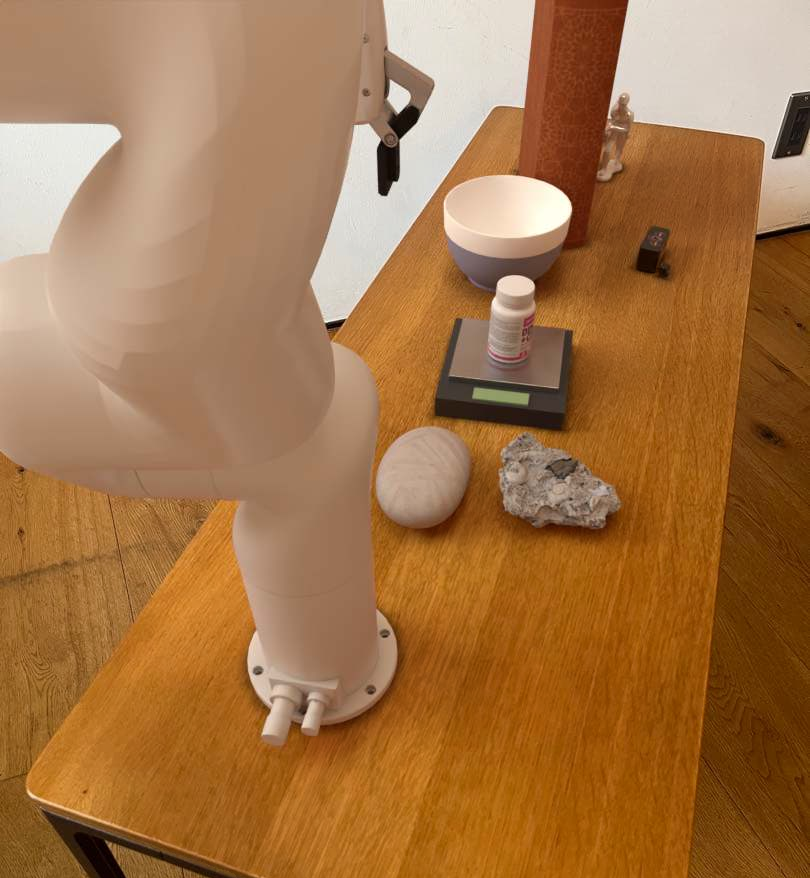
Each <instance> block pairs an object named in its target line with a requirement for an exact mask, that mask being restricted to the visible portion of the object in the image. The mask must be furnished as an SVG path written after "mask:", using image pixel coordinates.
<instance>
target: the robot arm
mask: <svg viewBox="0 0 810 878" xmlns="http://www.w3.org/2000/svg"><path fill="white" fill-rule="evenodd" d="M385 12H386V11H385V4H384V0H0V124H6V125H7V124H9V125H10V124H13V125H14V124H15V125H19V124H20V125H22V124H23V125H25V124H26V125H29V124H30V125H35V124H36V125H38V124H39V125H54V124H55V125H56V124H57V125H58V124H59V125H76V124H77V125H109V126H112V127H113V128H116V129H117V130H118V132H119V134H120V138H118V140H116V141H115V142H114V143H113V144H112V145H111V146H110V148H108V149H107V151H106V152H105V153H103V155H102V156H101V157H100V158H99V159H98V161H97V162H96V163H95V165H94V166H93V167H92V169H91V170H89V173H88V174H87V175H86V177H85V178H84V179H83V181H82V182H81V183H80V185H79V186H78V188H77V190H76V191H75V193H73V196H72V198H71V199H70V201H69V203H68V205H67V207H66V209H65V210H64V212H63V215H62V217H61V219H60V222H59V224H58V227H56V230H55V232H54V234H53V237H52V240H51V242H50V245H49V250H48V252H42V253H41V252H40V253H32V254H31V253H30V254H24V255H19V256H17V257H12V258H10V259H7V260H5V261H3V262H1V263H0V452H1V453H2V454H3V455H4V456H5V457H7V458H8V460H10V461H12V462H13V463H15V464H17V465H18V466H20V467H22V468H24V469H26V470H28V471H31V472H34V473H36V474H39V475H41V476H45V477H49V478H50V479H55V480H58V481H61V482H64V483H67V484H71V485H74V486H76V487H80V488H84V489H86V490H90V491H93V492H97V493H101V494H105V495H108V496H109V495H110V496H113V497H121V498H130V499H131V498H132V499H156V500H157V499H158V500H218V501H220V500H221V501H222V500H224V501H226V502H239V503H238V504H237V506H236V507H237V508H236V511H235V513H234V517H233V520H232V521H233V522H232V528H231V529H232V531H231V541H232V547H233V551H234V555H235V559H236V562H237V564H238V568H239V571H240V575H241V579H242V582H243V585H244V588H245V592H246V596H247V601H248V603H249V604H248V605H249V608H250V611H251V615H252V617H253V621H254V626H255V629H256V630H255V631H254V633H253V635H252V637H251V641H250V643H249V646H248V651H247V658H246V659H247V661H246V662H247V671H248V676H249V679H250V682H251V685H252V687H253V689H254V692H255V694H256V695H257V697H258V699H260V700H261V702H262V703H263V704H264V706H266V707H267V708H268V709H270V712H269V714H268V715H267V717H266V719H265V723H264V724H263V728H262V731H261V734H260V740H261V741H262V742H263V743H264V744H266V745H269V746H272V747H283V746H285V745H286V741H287V739H288V734H289V732H290V729H291V726H292V723H293V722H294V723H297V724H300V725H301V727H300V732H301V733H302V734H303V735H305V736H308V737H317V736H318V734H319V731H320V729H321V728H320V727H321V726H330V725H335V724H340V723H343V722H346V721H349V720H351V719H354V718H356V717H358V716H360V715H362V714H363V713H365V712H367V711H368V710H369V709H371V708H372V707H373V706H374V705H376V703H378V701H380V700H381V699H382V697H383V696H384V695H385V693H386V692H387V691H388V690H389V688H390V686H391V684H392V681H393V679H394V678H395V675H396V670H397V666H398V644H397V638H396V635H395V632H394V630H393V629H394V628H393V627H392V625H391V624H390V621H389V620H388V619H387V617H386V616H385V615H384V614H383V613H382V612H381V611H380V610H379V609H378V608H377V597H376V595H377V594H376V582H375V579H376V578H375V563H374V552H373V551H374V548H373V532H372V511H371V509H372V507H371V506H372V505H371V502H372V501H371V491H372V479H373V469H374V463H375V462H374V461H375V455H376V450H377V449H376V448H377V442H378V441H377V440H378V434H379V426H380V399H379V391H378V386H377V383H376V379H375V376H374V374H373V372H372V370H371V368H370V367H369V364H367V362H366V361H365V359H363V358H362V357H361V355H360V354H357V352H355V351H354V350H352V349H350V348H348V347H346V346H345V345H342V344H340V343H337V342H334V341H332V340H331V339H330V336H329V332H328V329H327V325H326V323H325V319H324V317H323V313H322V310H321V308H320V305H319V302H318V299H317V297H316V294H315V291H314V288H313V285H312V283H311V280H312V279H313V275H314V273H315V270H316V268H317V266H318V264H319V261H320V258H321V256H322V253H323V250H324V248H325V245H326V241H327V239H328V235H329V232H330V229H331V225H332V222H333V219H334V216H335V213H336V209H337V207H338V202H339V200H340V196H341V193H342V189H343V184H344V182H345V177H346V172H347V169H348V165H349V159H350V154H351V148H352V144H353V140H354V131H355V126H364V125H369V127H371V129H372V130H373V131H374V132H375V134H376V135H377V136H378V138H380V139H379V143H378V145H377V146H376V166H377V167H376V168H377V169H376V171H377V172H376V173H377V194H378V195H380V197H388V196H389V193H390V191H391V189H392V186H393V184H394V183H398V182H399V180H400V176H401V139H403V137H404V136H405V135H406V134H408V133H409V131H410V130H411V129H413V128H414V127H415V126H416V124H417V123H418V121H419V120H420V118H421V116H422V114H423V112H424V110H425V108H426V106H427V104H428V102H429V100H430V98H431V96H432V94H433V91H434V89H435V85H436V83H435V80H434V79H433V78H432V77H431V76H429V75H428V74H426V73H424V72H423V71H421V70H420V69H418V68H417V67H415V66H413V65H412V64H410V63H409V62H408V61H405V60H404V59H402V58H401V57H400V56H398V55H397V54H395V53H394V52H392V51H391V50H389V40H388V39H389V38H388V29H387V21H386V13H385ZM391 81H392V82H393V83H395V84H397V85H398V86H400V87H401V88H403V89H405V90H406V91H407V92H408V93H409V95H410V99H409V102H408V103H407V104H406V105H405V106H404V107H403V108H402V110H400V111H399V112H397V110H396V109H395V108H394V106H393V105H392V104H391V102H390V101H389V100H388V97H389V95H390V90H391V89H390V88H391Z"/></svg>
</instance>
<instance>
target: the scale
mask: <svg viewBox="0 0 810 878" xmlns="http://www.w3.org/2000/svg"><path fill="white" fill-rule="evenodd" d="M462 321H463V317H462V318H461V317H455V319H454V324H453V327H452V331H451V335H450V339H449V342H448V346H447V350H446V354H445V358H444V361H443V364H442V365H443V366H442V369H441V373H440V376H439V381H438V385H437V388H436V392H435V394H434V395H435V397H434V416H439V417H448V418H455V419H462V420H472V421H478V422H479V421H480V422H487V423H495V424H497V423H498V424H503V425H504V424H505V425H512V426H519V427H528V428H535V429H545V430H553V431H561V432H562V431H563V427H564V422H565V416H566V412H567V411H566V409H567V400H568V398H567V397H568V388H569V379H570V369H571V359H572V348H573V338H574V337H573V336H574V329H573V330H572V329H565V336H564V345H563V354H562V363H561V372H560V382H559V390H558V394H554V393H546V392H537V391H529V390H520V389H511V388H503V387H494V386H486V385H477V384H469V383H460V382H452V381H448V379H449V372H450V368H451V364H452V360H453V356H454V352H455V348H456V344H457V340H458V336H459V332H460V329H461V325H462Z"/></svg>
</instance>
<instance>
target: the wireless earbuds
mask: <svg viewBox="0 0 810 878" xmlns="http://www.w3.org/2000/svg"><path fill="white" fill-rule="evenodd" d="M670 235H671V230H670V228H666V227H662V226H657V225H651V226H650V227H649V228H648V230H647V232H646V234H645V236H644V238H643V239H642V241H641V243H640V246H639V248H638V252H637V253H638V254H637V257H636V262H635V268H636V269H637V270H640V271H644V272H649V273H653V272H655V271H656V270H657V269H658V270H657V275H658V276H660V277H663V278H669V275H670V270H671V269H672V264H671V263H670V262H666V263H664V264H663V265H660V267H659V268H658V266H659V264H660V263H661V260H662V258H663V256H664V255H665V252H666V249H667V246H668V243H669V238H670Z"/></svg>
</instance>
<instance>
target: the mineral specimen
mask: <svg viewBox="0 0 810 878" xmlns="http://www.w3.org/2000/svg"><path fill="white" fill-rule="evenodd" d="M499 453H500V458H502V465H503V466H502V467H501V468H500V469H498V470H497V471H498V476H499V481H498V484H499V489H500V493H502V496H503V497H502V499H503V501H502V504H503V507H504V510H505V512H507V513H509V514H511V516H512V515H513V516H514V517H518V518H519V517H520V518H521V519H522V520H526V522H527V523H530V524H531V526H533V527H535V528H542V527H545V526H547V525H548V524H551V523H552V524H554V525H555V524H556V525H558V526H563V525H564V526H571V527H578V526H582V527H583V528H589V529H590V530H593V529H594V530H598V529H603V528H604V527H605V526H606V525H607V522H606V521H607V519H606V516H609V515H612V514H613V513H614V512H616V511H619V510H620V509H622V504H623V503H622V501H621V500H620V498H619V496H618V493H617V491H616V489H615V486H614V485H613V484H609V483H607V482H605V480H602V478H601V477H596V476H594V474H593V472H592V471H591V470H590V468H589V467H588V466H586V465H585V463H584V462H582V461H581V460H578V459H576V458H575V459H574V458H573V456H572V455H570V454H569V452H568V451H566V450H563V449H559V448H558V449H557V448H554V447H545V445H544V444H543V443H542V442H540V441H538V439H537V437H536V436H535V435H534V434H533V433H531V432H528V431H524V432H523V434H522V433H521V434H519V435H515V438H514V439H512V440H511V441H510V442H508V444H507V445H506V446H505V447H504V448H502V451H500V452H499Z"/></svg>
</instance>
